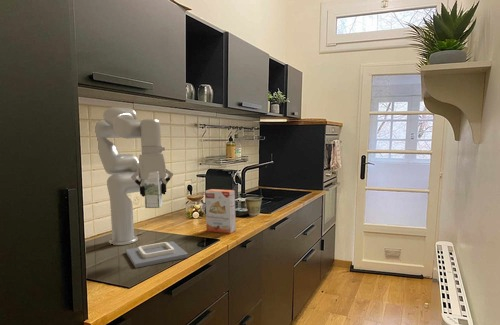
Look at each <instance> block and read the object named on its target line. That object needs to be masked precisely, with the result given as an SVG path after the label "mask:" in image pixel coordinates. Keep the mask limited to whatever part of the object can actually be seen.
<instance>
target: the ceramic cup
mask: <svg viewBox="0 0 500 325" xmlns="http://www.w3.org/2000/svg"><path fill="white" fill-rule="evenodd" d="M262 199H263V198H262V197H261V196H247V197H245V205H246V210H247V214H248V213H249V216H253V217H254V216H259V215H260V214H261V207H262V206H261V205H262Z"/></svg>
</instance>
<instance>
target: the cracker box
mask: <svg viewBox="0 0 500 325" xmlns="http://www.w3.org/2000/svg"><path fill="white" fill-rule="evenodd" d="M204 192H205V196H204V197H205V221H206V232H212V233H213V232H214V233H220V234H221V233H222V234H229V235H230V234H233V233H234V232H236V229H237V228H236V223H237V221H236V195H235V190H234V189H219V188H218V189H216V188H214V189H213V188H211V189H207V190H205V191H204Z"/></svg>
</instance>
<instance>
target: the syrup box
mask: <svg viewBox="0 0 500 325" xmlns="http://www.w3.org/2000/svg"><path fill="white" fill-rule="evenodd" d="M144 182H145V183H144V187H145V196H144V204H145V206H144V207H145V209H160V208H161V207H162V206H163V204H164V203H163V194H162V182H161V179H160V178H159V171H155V172H150V173H149V176H148V179H147V180H144Z"/></svg>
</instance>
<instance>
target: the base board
mask: <svg viewBox="0 0 500 325" xmlns="http://www.w3.org/2000/svg"><path fill="white" fill-rule="evenodd" d="M125 254H126V256H127V257H128V259H129V260H130V262H131V264H132V265H133V267H134V268H135V269H137V268H138V269H139V268H143V267H148V266H153V265H157V264H163V263H167V262H174V261H177V260H182V259H186V258H187V259H188V258H189V253H188V252H187V251H186V250H185V249H183V248H182V247H180V246H179V244H177V243H175V241H163V242H158V243H156V242H155V243H152V244H146V245H140V246H139V245H138V247H132V248H131V247H130V248H126V249H125Z"/></svg>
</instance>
